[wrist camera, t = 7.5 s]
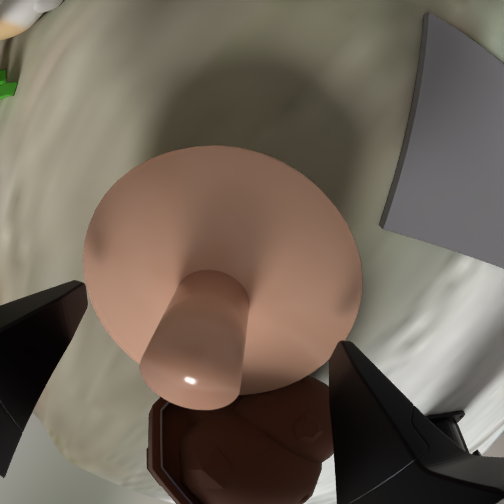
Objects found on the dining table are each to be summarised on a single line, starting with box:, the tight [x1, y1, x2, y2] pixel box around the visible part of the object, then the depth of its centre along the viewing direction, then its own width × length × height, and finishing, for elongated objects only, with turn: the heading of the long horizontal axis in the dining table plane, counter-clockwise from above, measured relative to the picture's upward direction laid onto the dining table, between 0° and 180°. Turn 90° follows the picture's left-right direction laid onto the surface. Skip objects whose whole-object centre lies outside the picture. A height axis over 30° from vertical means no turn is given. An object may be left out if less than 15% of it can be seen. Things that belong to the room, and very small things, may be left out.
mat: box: [379, 13, 504, 269], centre depth 11 cm, size 12×12×1 cm
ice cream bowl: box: [147, 375, 334, 504], centre depth 14 cm, size 11×11×15 cm
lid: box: [83, 145, 363, 410], centre depth 9 cm, size 10×10×4 cm
